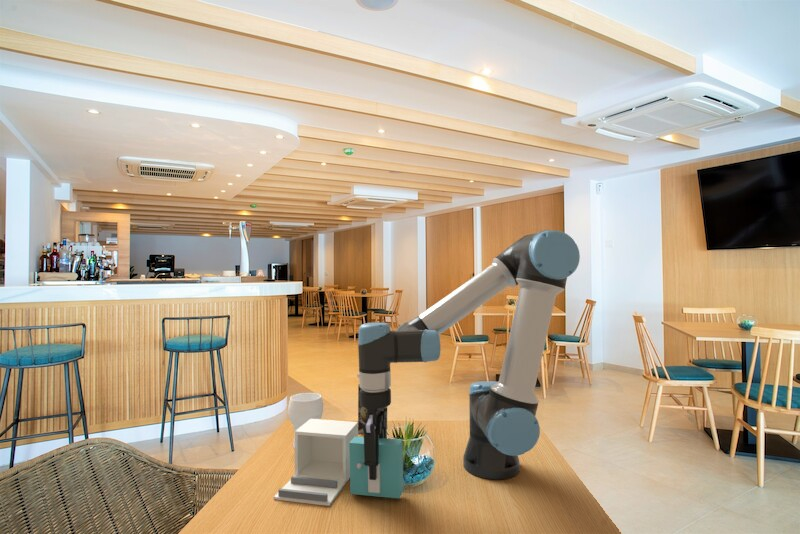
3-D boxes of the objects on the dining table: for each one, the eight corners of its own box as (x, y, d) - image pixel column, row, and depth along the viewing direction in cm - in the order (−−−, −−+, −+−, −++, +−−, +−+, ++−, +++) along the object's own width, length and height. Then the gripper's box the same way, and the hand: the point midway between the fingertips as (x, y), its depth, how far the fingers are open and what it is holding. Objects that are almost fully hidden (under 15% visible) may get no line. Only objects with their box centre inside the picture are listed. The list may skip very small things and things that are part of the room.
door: (403, 489, 103) (402, 439, 103) (399, 500, 98) (398, 447, 98) (355, 485, 105) (354, 436, 106) (349, 495, 101) (348, 444, 101)
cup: (315, 454, 126) (315, 402, 127) (281, 451, 129) (281, 400, 129) (328, 440, 137) (328, 392, 137) (297, 437, 139) (297, 391, 139)
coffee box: (357, 433, 142) (357, 385, 143) (362, 426, 149) (362, 380, 149) (384, 435, 141) (384, 386, 141) (388, 428, 147) (388, 381, 147)
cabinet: (357, 465, 119) (357, 422, 119) (329, 506, 98) (329, 453, 98) (310, 461, 122) (310, 418, 122) (273, 499, 101) (273, 448, 101)
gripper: (369, 378, 112) (371, 469, 111) (348, 397, 95) (350, 504, 95) (398, 379, 110) (399, 471, 110) (381, 399, 93) (383, 507, 93)
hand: (376, 486), depth 102 cm, fingers closed on door, 4 cm apart
